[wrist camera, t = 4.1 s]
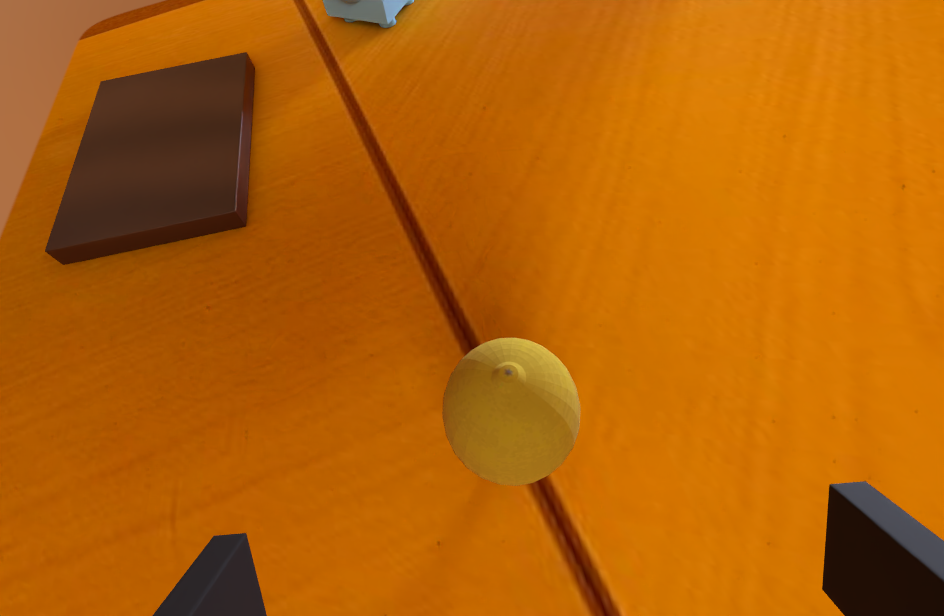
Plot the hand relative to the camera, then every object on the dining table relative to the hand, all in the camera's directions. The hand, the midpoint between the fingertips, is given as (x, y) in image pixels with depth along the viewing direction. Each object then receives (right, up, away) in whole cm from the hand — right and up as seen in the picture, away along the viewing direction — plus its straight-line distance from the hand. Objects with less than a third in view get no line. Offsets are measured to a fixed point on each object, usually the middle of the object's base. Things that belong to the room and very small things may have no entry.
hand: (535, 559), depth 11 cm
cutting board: (-24, +17, +26) cm, 39 cm away
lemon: (+1, -1, +12) cm, 13 cm away
